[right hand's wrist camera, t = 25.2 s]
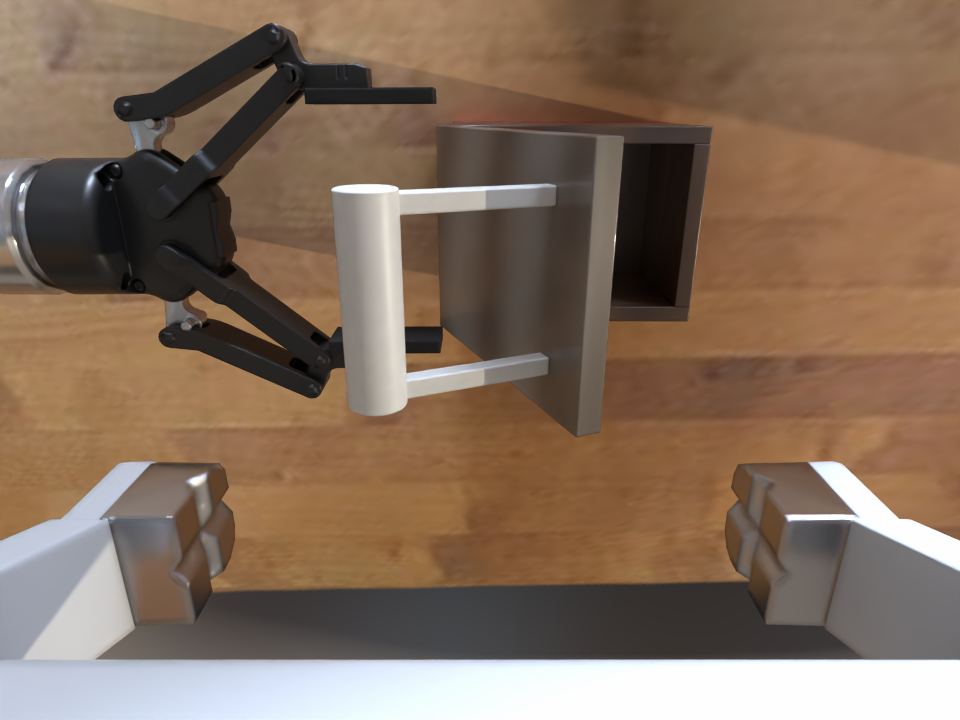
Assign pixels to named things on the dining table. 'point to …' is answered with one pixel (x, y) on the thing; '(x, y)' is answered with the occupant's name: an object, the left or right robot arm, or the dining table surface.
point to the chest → (650, 212)
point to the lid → (490, 270)
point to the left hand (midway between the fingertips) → (439, 225)
